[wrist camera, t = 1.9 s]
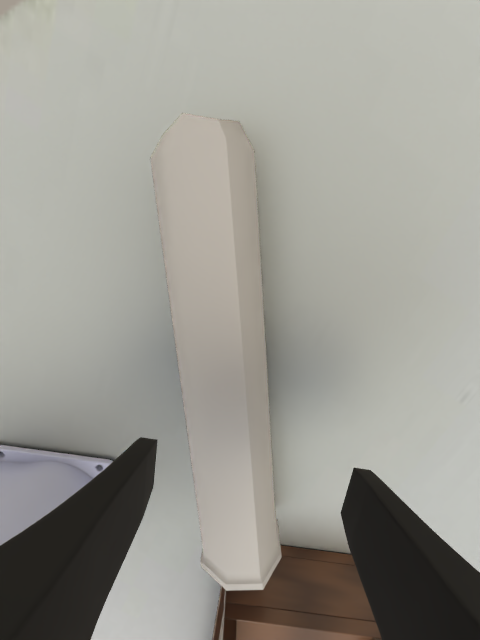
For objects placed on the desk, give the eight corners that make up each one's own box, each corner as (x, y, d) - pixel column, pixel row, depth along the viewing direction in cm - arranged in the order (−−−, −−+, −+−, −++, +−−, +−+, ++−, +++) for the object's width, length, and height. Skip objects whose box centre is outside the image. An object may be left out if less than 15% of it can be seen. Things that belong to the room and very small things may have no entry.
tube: (113, 108, 11) (186, 575, 16) (235, 65, 9) (271, 609, 15) (183, 152, 16) (221, 501, 21) (271, 130, 14) (289, 519, 19)
